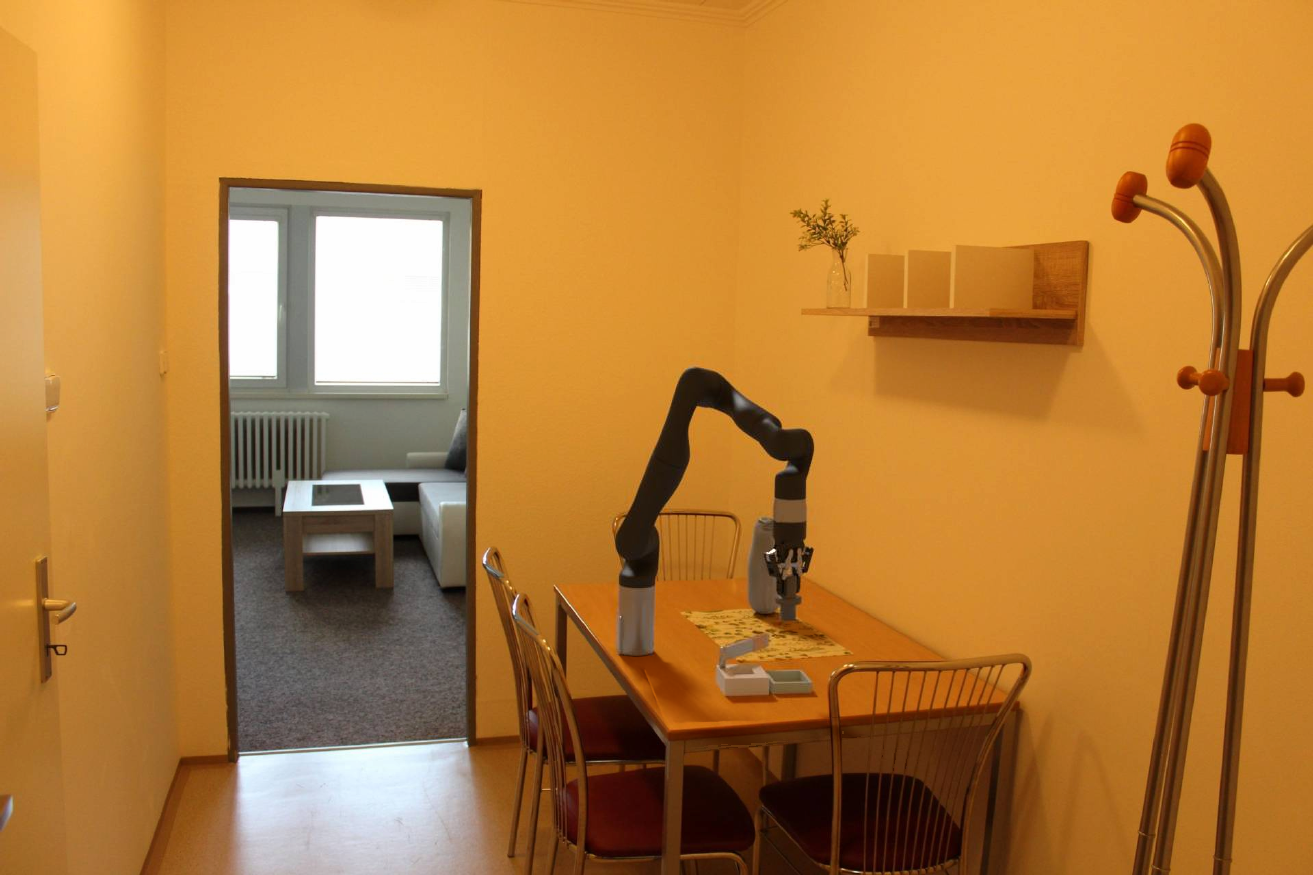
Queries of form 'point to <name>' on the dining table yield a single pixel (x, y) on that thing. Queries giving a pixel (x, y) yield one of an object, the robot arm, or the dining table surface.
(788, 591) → the plug
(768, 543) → the grey bottle
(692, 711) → the dining table surface
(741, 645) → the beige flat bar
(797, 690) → the tray
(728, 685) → the socket block
